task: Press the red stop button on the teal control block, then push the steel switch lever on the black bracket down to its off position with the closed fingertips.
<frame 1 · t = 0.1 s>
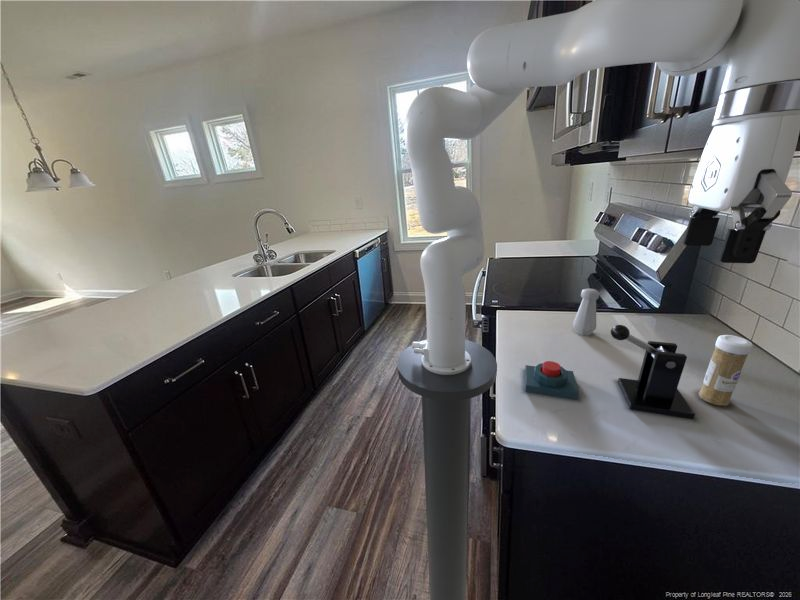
hand: (714, 252, 43), 33 cm above the countertop, tool pointing down, fingers open, 9 cm apart
switch bracket: (652, 399, 64), on the countertop
switch lever: (641, 344, 61), point 12 cm above the countertop, hinge at 28.0°
salt shaker: (583, 332, 91), on the countertop
sprinkles bottle: (712, 399, 63), on the countertop
stop block: (549, 384, 70), on the countertop
stop button: (551, 368, 69), point 4 cm above the countertop, slide at 0.2 cm
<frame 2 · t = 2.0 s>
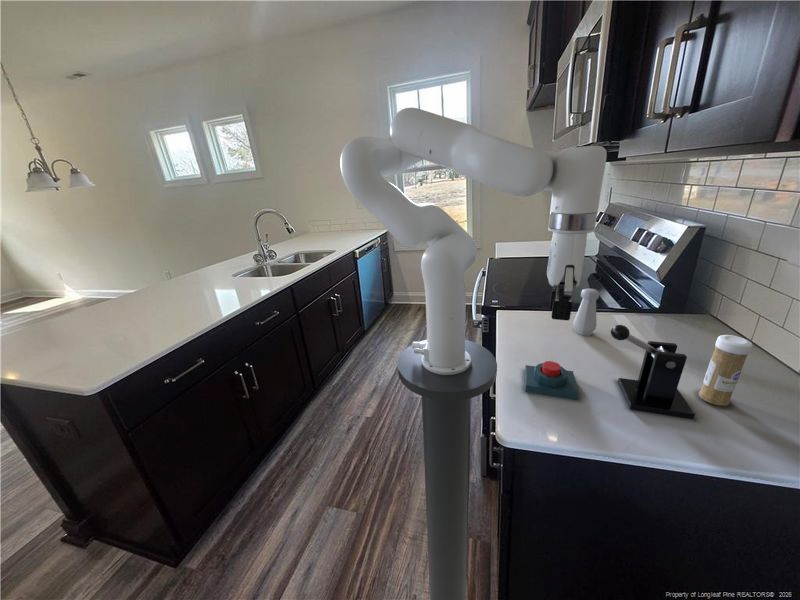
hand: (559, 313, 64), 17 cm above the countertop, tool pointing down, fingers open, 4 cm apart
nothing on the countertop moved.
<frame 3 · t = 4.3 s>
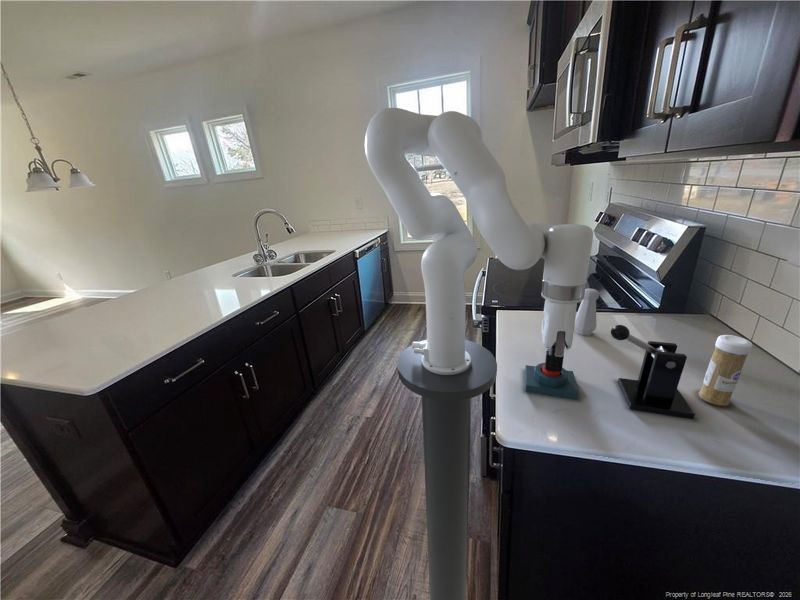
hand: (553, 368, 68), 4 cm above the countertop, tool pointing down, fingers closed
stop button: (550, 372, 69), point 3 cm above the countertop, slide at -0.6 cm, touching gripper
everything else where it was.
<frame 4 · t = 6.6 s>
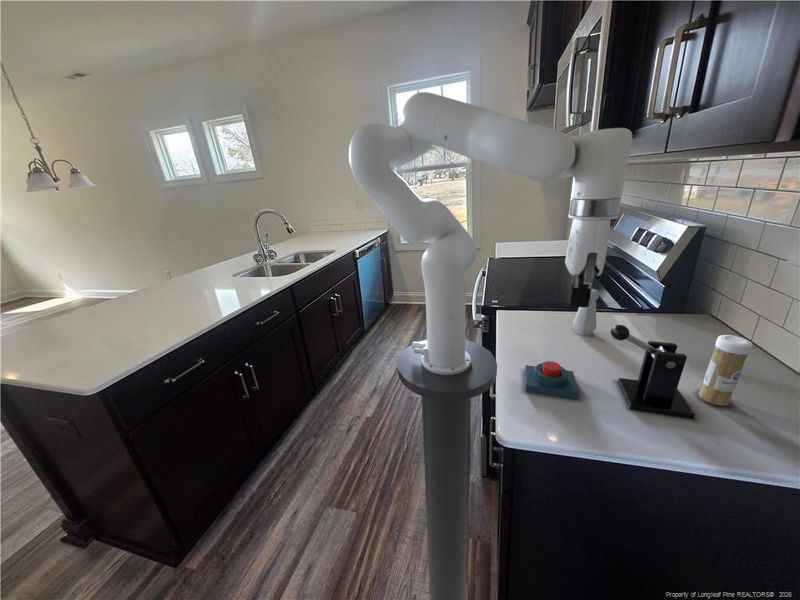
hand: (578, 305, 62), 19 cm above the countertop, tool pointing down, fingers closed
stop button: (551, 369, 69), point 4 cm above the countertop, slide at 0.1 cm
everything else where it was.
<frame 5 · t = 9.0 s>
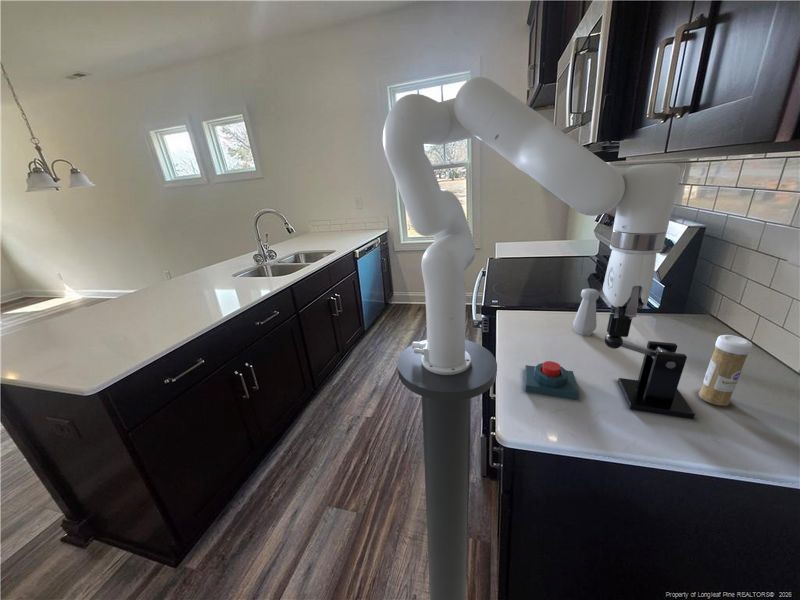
hand: (617, 334, 62), 14 cm above the countertop, tool pointing down, fingers closed
switch lever: (638, 348, 61), point 11 cm above the countertop, hinge at 14.6°, touching gripper
everything else where it was.
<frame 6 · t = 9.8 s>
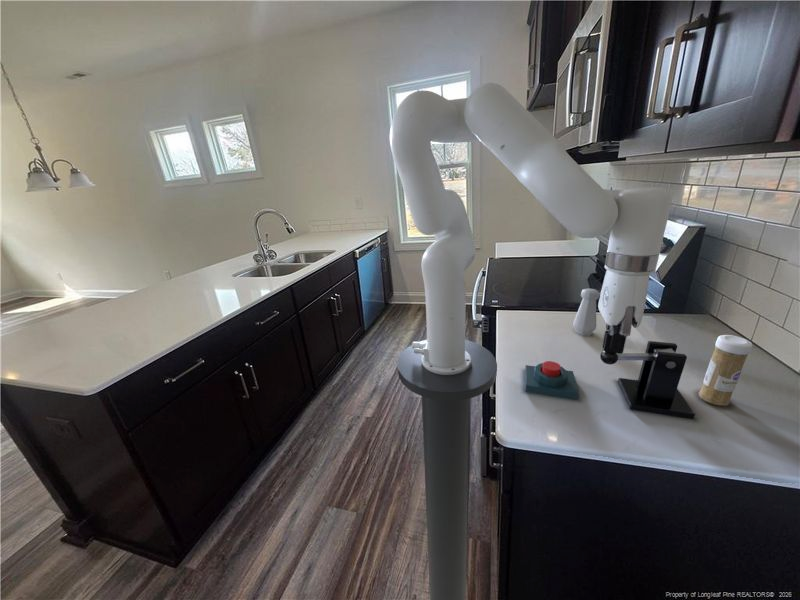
hand: (612, 350, 63), 10 cm above the countertop, tool pointing down, fingers closed
switch lever: (635, 356, 62), point 9 cm above the countertop, hinge at -9.1°, touching gripper
everything else where it was.
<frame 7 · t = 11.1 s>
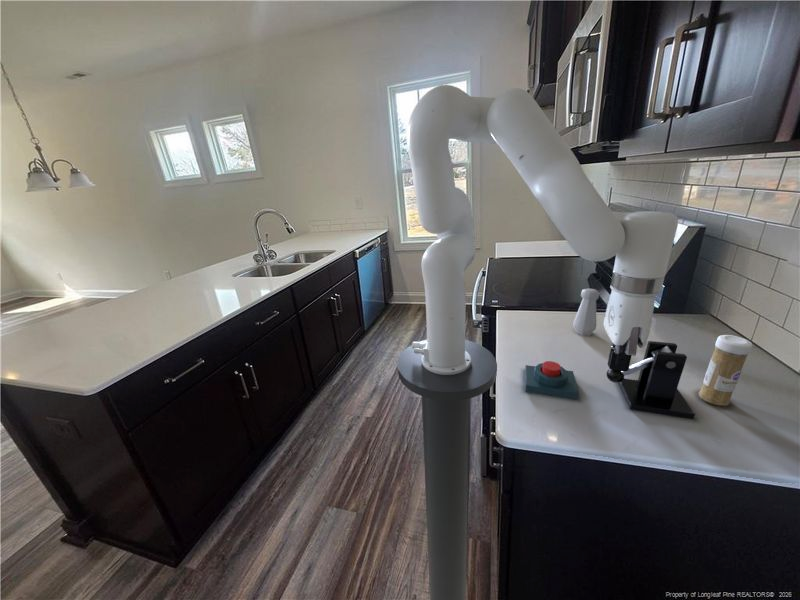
hand: (617, 368, 64), 6 cm above the countertop, tool pointing down, fingers closed
switch lever: (638, 366, 62), point 7 cm above the countertop, hinge at -37.4°, touching gripper
everything else where it was.
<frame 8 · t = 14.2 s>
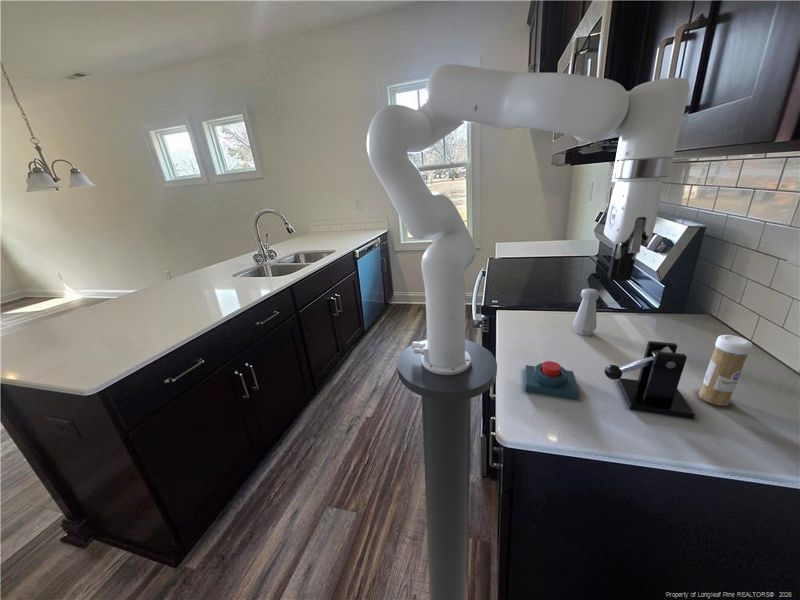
hand: (618, 278, 58), 25 cm above the countertop, tool pointing down, fingers closed
switch lever: (637, 364, 62), point 8 cm above the countertop, hinge at -32.6°
everything else where it was.
at the end: stop button pushed in 1.1 cm at the most during the clip, back to where it started at the end; stop button slide at 0.1 cm; switch lever at -33° (first picture: +28°) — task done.
